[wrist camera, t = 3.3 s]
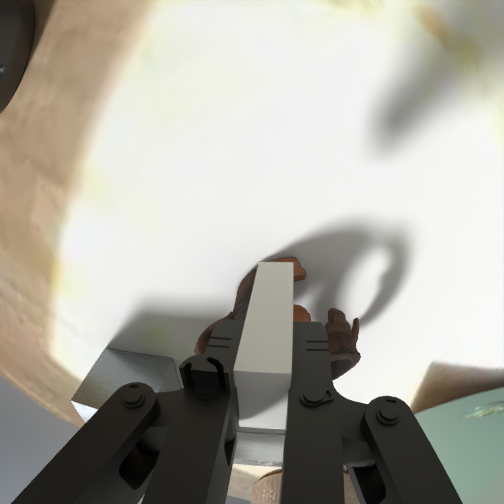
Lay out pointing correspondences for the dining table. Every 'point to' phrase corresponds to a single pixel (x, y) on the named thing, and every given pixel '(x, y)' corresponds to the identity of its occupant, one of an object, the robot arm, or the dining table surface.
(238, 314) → the brown curved piece
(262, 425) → the robot arm
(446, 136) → the dining table surface
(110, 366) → the motor bracket
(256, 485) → the planter
